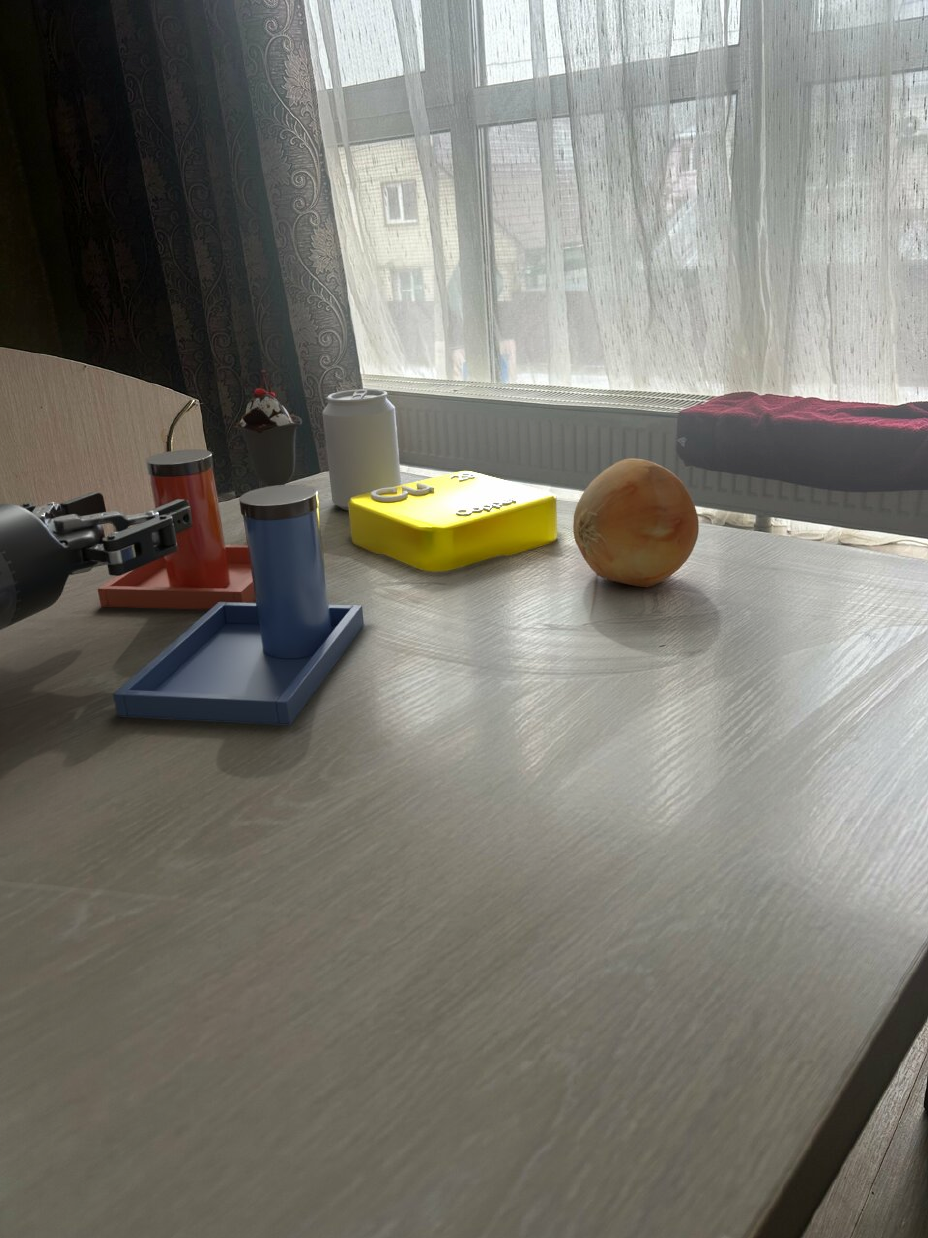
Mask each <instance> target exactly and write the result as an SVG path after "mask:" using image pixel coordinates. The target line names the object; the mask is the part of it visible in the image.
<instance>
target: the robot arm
mask: <svg viewBox="0 0 928 1238" xmlns="http://www.w3.org/2000/svg"><path fill="white" fill-rule="evenodd" d="M36 505H37V504H36V503H32V502H24V503H22V504H20V505H17V504H13V503H0V631H2V630H4V629H6V628H8V627H10V626H13V625H14V624H16V623H19V622H21V621H23V620H25V619H27V618H29V617H31V616H33V615H36V614H38V613H40V612H42V611H45V610H46V609H49V608H50V607H52V606H53V605H54V604H55V603H57V601H59V599H60V598H61V596H62V593H63V591H64V589H65V585H66V582H67V581H68V579H69V577H70V576H74V575H79V574H85V573H89V572H90V571H91V570H93V568H97V567H102V566H106V565H107V566H106V567H107V570H108V575H109V576H113V577H116V576H120V575H123V574H125V573H127V572H130V571H132V570H134V569H136V568H139V567H141V566H143V565H146V564H148V563H150V562H153V561H155V560H157V559H159V558H162V557H164V556H166V555H169V554H171V553H173V552H176V551H177V550H178V547H177V541H176V536H175V535H176V534H178V533H180V532H182V531H185V530H187V529H189V528H190V527H191V526H192V524H193V521H192V515H191V509H190V503H189V502H188V500H181V499H177V500H175V501H172V502H170V503H167V504H165V505H162V506H160V507H158V508H155V507H154V508H153V509H150V510H146V511H144V512H138V513H133V514H126V515H125V514H123V513H122V512H121V511H119V510H117V509H115V510H109V511H107V509H106V503H105V499H104V495H103V494H102V493H101V492H93V491H92V492H88V493H86V494H83V495H80V496H78V497H74V498H72V499H69V500H66V501H63V502H61V503H59V502H54V501H48V502H46V503H45V504H42V505H39V506H36ZM106 524H111V525H112V528H113V531H112V532H111V533H110V534H108V535H107V536H106V534H105V529H104V527H103V525H106Z"/></svg>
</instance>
